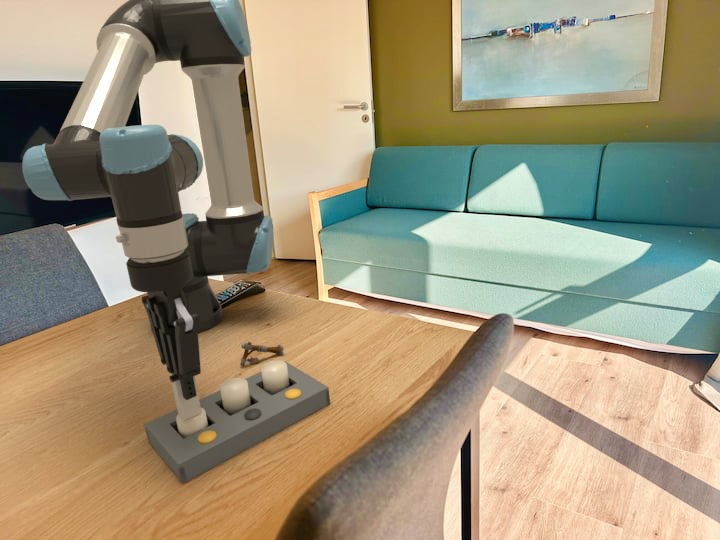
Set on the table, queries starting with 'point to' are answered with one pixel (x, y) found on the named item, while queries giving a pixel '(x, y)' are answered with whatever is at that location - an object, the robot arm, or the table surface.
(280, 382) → the button
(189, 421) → the button
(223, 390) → the button
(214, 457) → the console
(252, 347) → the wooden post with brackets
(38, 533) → the table surface
